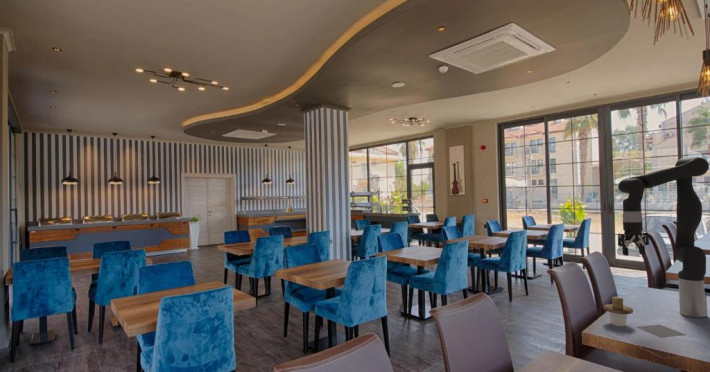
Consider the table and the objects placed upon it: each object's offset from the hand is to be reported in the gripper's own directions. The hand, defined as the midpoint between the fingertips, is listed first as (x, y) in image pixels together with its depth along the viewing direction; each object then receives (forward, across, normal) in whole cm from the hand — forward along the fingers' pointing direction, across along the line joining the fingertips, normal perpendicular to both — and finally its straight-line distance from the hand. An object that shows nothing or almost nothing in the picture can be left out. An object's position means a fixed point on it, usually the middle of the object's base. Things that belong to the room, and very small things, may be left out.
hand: (633, 254), depth 180 cm
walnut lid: (+23, +15, +6) cm, 28 cm away
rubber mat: (+30, +5, +17) cm, 35 cm away
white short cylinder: (+30, +15, +6) cm, 34 cm away
